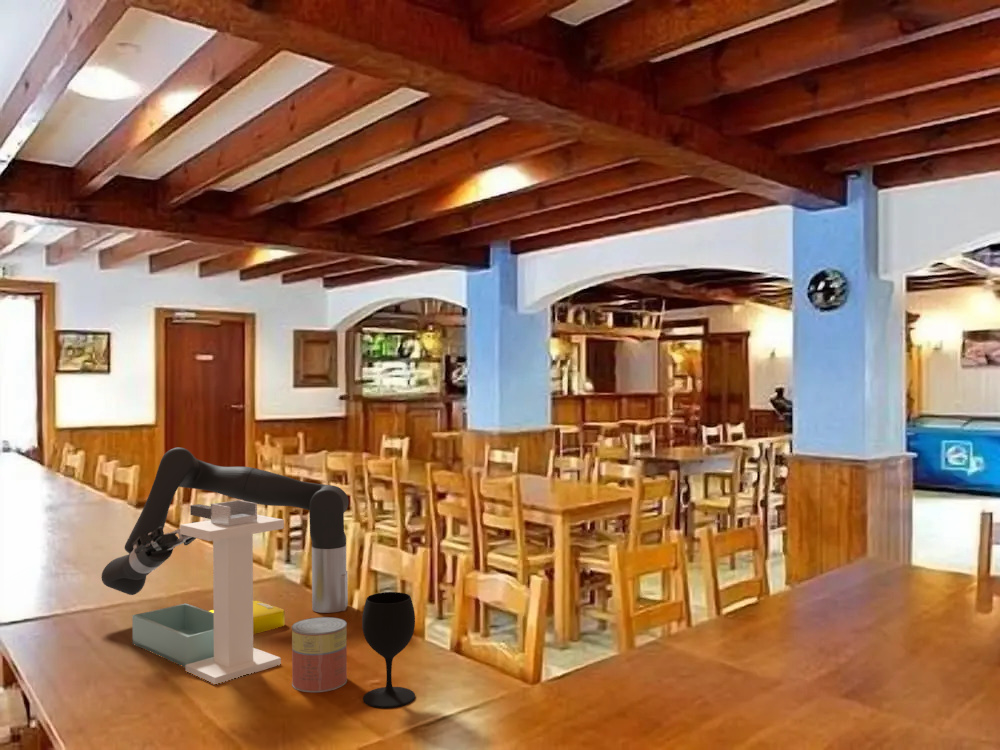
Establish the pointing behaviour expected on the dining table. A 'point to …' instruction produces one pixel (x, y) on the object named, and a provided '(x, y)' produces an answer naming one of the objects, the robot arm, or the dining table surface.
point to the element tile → (266, 617)
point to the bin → (176, 633)
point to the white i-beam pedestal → (232, 600)
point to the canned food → (319, 654)
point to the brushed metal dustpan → (227, 512)
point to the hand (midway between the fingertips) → (179, 528)
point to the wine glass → (388, 641)
